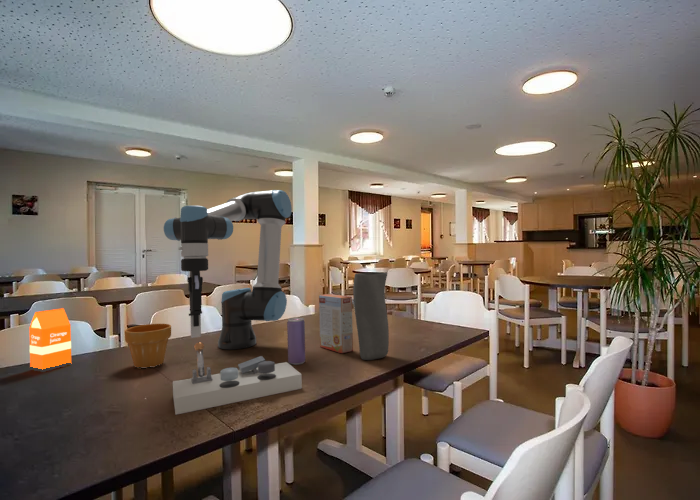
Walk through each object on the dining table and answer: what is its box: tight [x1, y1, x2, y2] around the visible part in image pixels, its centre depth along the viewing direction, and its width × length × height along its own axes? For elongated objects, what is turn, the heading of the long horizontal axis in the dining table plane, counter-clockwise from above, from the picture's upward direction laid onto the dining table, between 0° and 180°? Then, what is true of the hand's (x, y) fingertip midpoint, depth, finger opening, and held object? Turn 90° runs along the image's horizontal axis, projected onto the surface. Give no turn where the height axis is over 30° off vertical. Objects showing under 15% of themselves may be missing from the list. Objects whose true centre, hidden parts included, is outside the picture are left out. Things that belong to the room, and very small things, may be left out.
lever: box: [193, 341, 206, 377], centre depth 103 cm, size 3×3×10 cm
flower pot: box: [124, 323, 172, 367], centre depth 128 cm, size 14×14×13 cm
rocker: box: [237, 355, 267, 373], centre depth 106 cm, size 4×7×1 cm, turn 118°
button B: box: [219, 367, 239, 381], centre depth 97 cm, size 4×4×2 cm
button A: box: [258, 360, 276, 373], centre depth 102 cm, size 4×4×2 cm
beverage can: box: [286, 317, 307, 366], centre depth 127 cm, size 6×6×15 cm
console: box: [172, 361, 303, 416], centre depth 102 cm, size 13×32×7 cm, turn 118°
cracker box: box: [318, 293, 354, 354], centre depth 143 cm, size 14×6×21 cm, turn 40°
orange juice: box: [28, 307, 72, 370], centre depth 128 cm, size 8×9×20 cm
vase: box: [352, 271, 390, 361], centre depth 131 cm, size 12×12×30 cm
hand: (195, 336), depth 110 cm, fingers closed
